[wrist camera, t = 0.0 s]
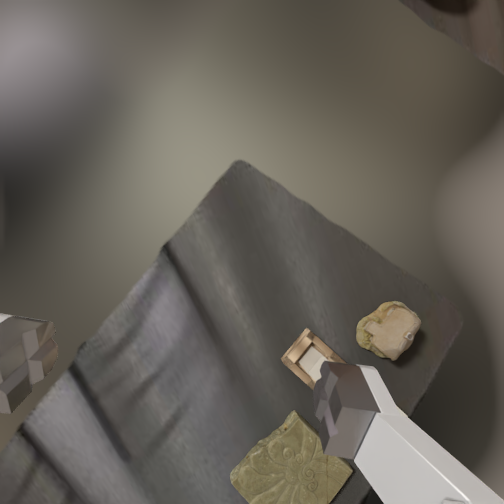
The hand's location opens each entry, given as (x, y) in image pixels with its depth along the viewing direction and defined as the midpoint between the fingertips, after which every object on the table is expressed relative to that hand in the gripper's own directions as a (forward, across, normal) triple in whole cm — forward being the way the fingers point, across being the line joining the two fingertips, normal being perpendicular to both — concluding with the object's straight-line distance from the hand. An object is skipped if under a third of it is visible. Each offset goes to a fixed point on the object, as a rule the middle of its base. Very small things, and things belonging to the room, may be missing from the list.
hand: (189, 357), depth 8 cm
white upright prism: (+41, +20, -35) cm, 57 cm away
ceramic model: (+47, +37, -29) cm, 66 cm away
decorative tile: (+31, +18, -58) cm, 68 cm away
